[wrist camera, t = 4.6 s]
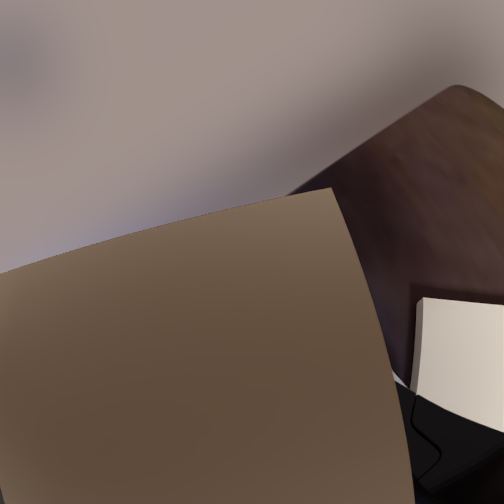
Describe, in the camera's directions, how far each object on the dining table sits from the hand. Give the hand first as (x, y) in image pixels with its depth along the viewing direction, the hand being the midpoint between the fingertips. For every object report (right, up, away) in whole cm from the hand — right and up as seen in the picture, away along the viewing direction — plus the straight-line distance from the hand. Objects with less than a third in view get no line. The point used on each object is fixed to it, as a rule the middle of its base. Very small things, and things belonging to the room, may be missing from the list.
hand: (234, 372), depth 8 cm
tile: (+13, -4, +3) cm, 14 cm away
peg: (+1, -4, +5) cm, 7 cm away
